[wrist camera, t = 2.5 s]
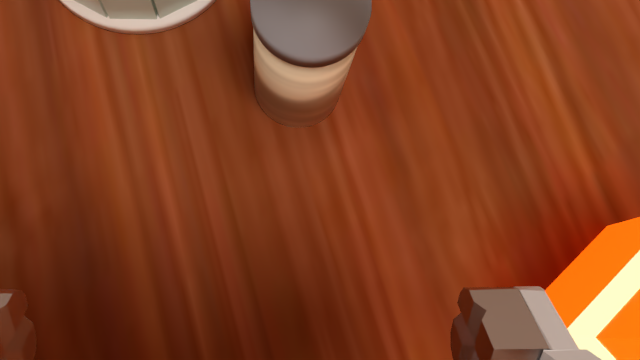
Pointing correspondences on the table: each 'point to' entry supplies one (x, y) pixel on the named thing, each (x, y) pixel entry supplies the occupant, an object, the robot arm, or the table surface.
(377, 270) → the table surface
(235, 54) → the table surface
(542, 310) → the robot arm
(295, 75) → the spice jar
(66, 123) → the table surface
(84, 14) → the ceramic dish
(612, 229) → the orange juice
